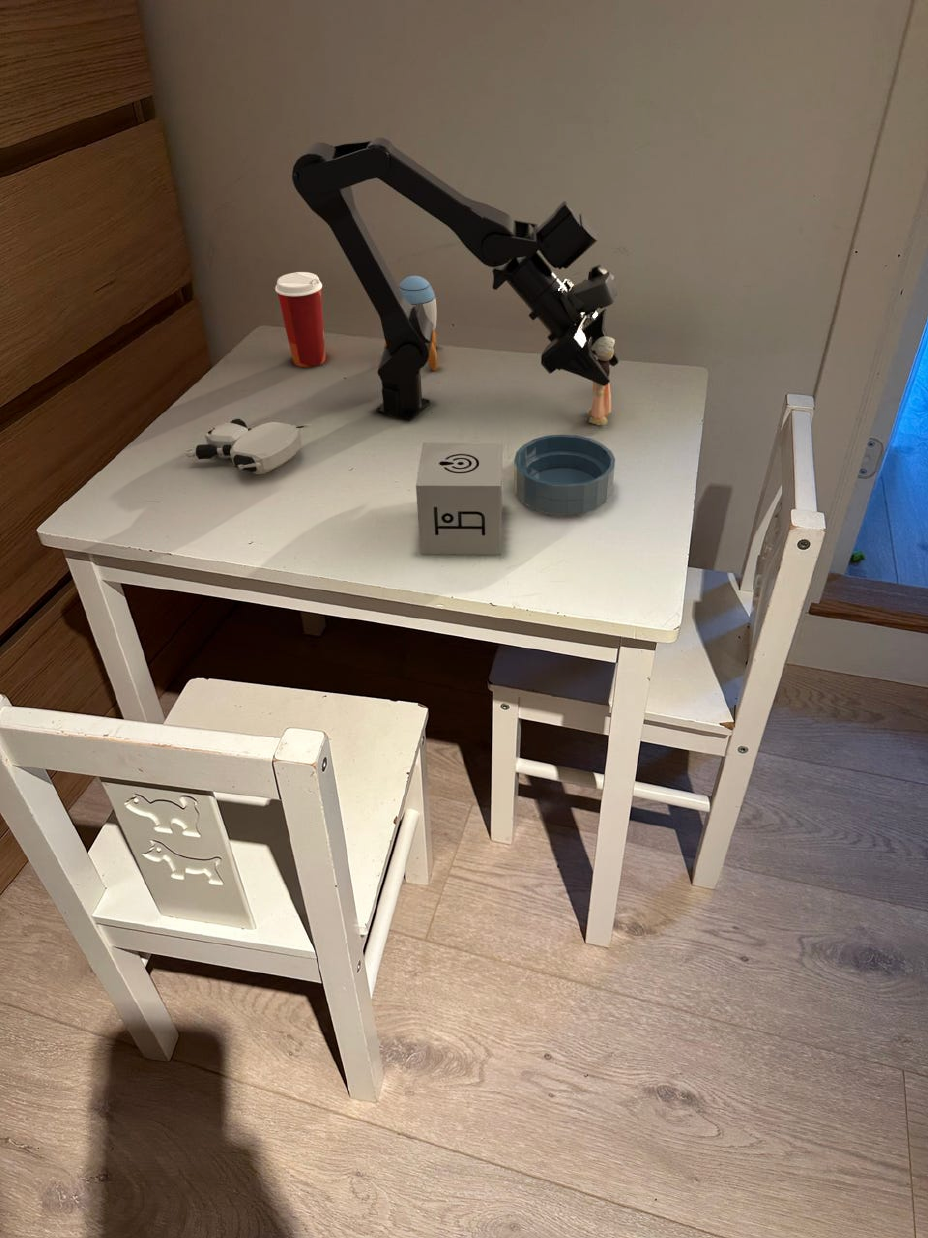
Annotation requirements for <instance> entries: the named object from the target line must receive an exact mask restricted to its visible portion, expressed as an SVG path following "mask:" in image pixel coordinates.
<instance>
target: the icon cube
mask: <svg viewBox="0 0 928 1238" xmlns="http://www.w3.org/2000/svg"><path fill="white" fill-rule="evenodd" d="M415 482H416V483H415V492H416V493H415V494H416V495H415V496H416V506H417V507H416V508H417V521H418V522H417V523H418V537H419V550H420V555H475V556H476V555H477V556H478V555H479V556H481V555H485V556H486V555H491V556H495V555H496V556H500V555H501V554H502V523H503V520H502V519H503V442H422V446H421V452H420V458H419V465H418V470H417V476H416V481H415Z"/></svg>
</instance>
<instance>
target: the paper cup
mask: <svg viewBox="0 0 928 1238" xmlns="http://www.w3.org/2000/svg"><path fill="white" fill-rule="evenodd" d="M322 288H323V284H322V282H321V281H320V277H318V274H315V273H312V272H309V271H296V272H290V273H286V274H283V275H282V276H280V277H278V278H277V281H276V285H275V287H274V290H275V292H276V293H277V295H278V299H279V305H280V310H281V314H282V318H283V323H284V328H285V332H286V336H287V340H288V345H289V350H290V354H291V358H292V362H293V364H294V365H295V366H297V367H300V368H313V367H318V366H320V365H322V364H323V363H325V361H326V344H325V330H324V316H323V302H322Z"/></svg>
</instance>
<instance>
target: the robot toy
mask: <svg viewBox="0 0 928 1238" xmlns="http://www.w3.org/2000/svg"><path fill="white" fill-rule="evenodd" d="M309 427H311V424H309V423H306V424H304V425H302V424H301V425H294V424H290V423H284V422H278V421H271V422H266V423H262V424H260V425H257V426H256V427H254V428H251V427H249V428H248V425H247V424H246V422H245V421H244V420H242V418H241V419H240V418H233V419H231V420H228V421H226V423H221V424H220V425H217V426H213V427H212V429H211V430H209V431H208V432H205V433H204V437H205V440H206V443H205V444H197V445H196V446H195V447H190V448H188V450H186V452H185V455H186V457H188V458H196V457H197V459H198V460H211V459H212V458H214V457H216V456H217V457H219V458H221V459H229V458H231V460H232V464H233V466H234V468H236V469H237V470H239V471H244V472H249V473H253V474H256V475H257V474H258V475H263V474H265V473H268V472H271V471H273V470H275V469H277V468H279V467H281V466H283V465H284V464H285V463H287V462H289V461H290V460H291V459H292V458H293V457H294V455H296V454H297V452H298V451H299V449H300V448H301V447H302V438H301V434H300V429H302V428H306V429H307V428H309Z"/></svg>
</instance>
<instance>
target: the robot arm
mask: <svg viewBox="0 0 928 1238" xmlns="http://www.w3.org/2000/svg"><path fill="white" fill-rule="evenodd" d="M373 179H378V180H379V181H382V182H383V183H384V184H386V185H387V186H389V187H390V188H391V189H393V190H394V191H396V192H397V193H399V194H400V195H402V196H403V197H404V198H406V199H408V200H409V201H410V202H412V203H413V204H414V205H416V206H417V207H419V208H421V209H422V210H423V211H425V212H427V213H428V214H429V215H431V216H432V217H434V218H435V219H436V220H438V221H439V222H441V223H442V224H444V225H445V226H447V227H448V228H449V229H450V230H451V231H452V232H453V233H454V234H455V235H456V236H457V238H458V240H460V242H461V243H462V244H463V245H464V247H465V248H466V249H467V250H468V251H469V252H470V253H471V254H472V255H473V256H474V257H475V258H476V259H477V260H479V262H480V263H481V264H483V265H485V266H487V267H489V268H492V275H493V280H492V289H493V290H494V291H496V290H498V289H499V288H500V287H501V286H502V285H503V284H504V283H506V282H507V284H508V285H509V286H510V288H511V289H512V290H513V291H514V292H515V293H516V294H517V295H518V297H519V298H520V300H522V301H523V302H524V304H525V305H526V306H527V307H528V309H530V313H529V314H528V317H529V318H530V319H531V321H535V320H536V319H538V320H539V321H540V323H541V324H542V325H543V326H544V327H545V329H546V330H547V331H548V332H549V334H548V335H547V339H548V340H549V341H550V342H549V343H548V344H547V345H546V347H545V349H544V350H543V352H542V353H541V354H540V355H541V356H540V357H541V358H540V365H541V366H542V367H543V368H544V370H546V371H547V373H548V374H549V375H550V374H552V373H554V372H555V371H556V370H558V371H561V370H563V371H566V372H569V373H571V374H573V375H577V376H579V377H581V378H583V379H586V380H588V381H591V382H592V383H593V382H596V383H598V384H600V385H603V386H605V385H607V384H608V383H609V384H610V382H611V379H610V377H609V378H608V376H607V375H606V373H605V371H604V370H603V368H602V367H601V365H600V364H599V362H598V361H597V359H598V358H597V356H596V352H595V350H594V351H593V350H592V349H591V348H592V346H593V344H594V343H595V342H596V341H597V340H598V339H599V338H601V337H609V336H608V333H607V330H606V328H605V322H606V314H607V307H610V306H611V305H612V304H613V303H614V302H615V298H616V297H617V296H618V291H617V287H616V285H615V280H616V277H615V275H614V274H612V273H611V271H610V270H607V269H606V268H604V266H603V265H602V264H598V265H594V266H592V267H590V269H589V271H588V277H587V279H586V278H585V279H583V280H582V281H581V282H580V283H577V284H574V283H573V282H572V280H571V279H568V278H564V279H563V280H561V278H560V277H559V276H558V275H557V274H556V273H555V271H554V270H553V269H552V268H551V266H552V267H553V268H554V269H559V270H561V269H563V268H564V269H566V270H567V269H568V268H569V267H571V266H572V264H574V263H575V262H576V261H578V259H579V258H581V256H583V255H584V254H585V253H586V252H587V251H588V250H589V249H590V248H591V247H592V246H594V245H595V244H596V243H597V242H598V241H599V237H598V234H597V233H596V231H595V229H594V228H593V226H592V225H591V224H590V222H589V221H588V219H587V218H586V217H585V216H584V215H583V213H579V212H578V210H576V209H575V208H574V207H573V206H571V205H570V204H569V203H568V202H567V201H565V200H563V201H562V202H561V203H560V204H558V206H557V207H556V208H555V210H554V212H553V213H552V214H551V215H550V216H549V217H548V218H547V219H545V221H544V222H543V223H541V224H540V225H539V224H537V223H534V222H528V221H522V220H517V219H514V218H513V217H512V216H511V215H509V214H508V213H506V212H505V211H503V210H500V209H498V208H497V207H494V206H492V205H490V204H488V203H486V202H485V203H484V202H481V201H477V200H473V199H471V198H470V197H467V196H465V195H463V194H462V193H461V192H459V191H457V190H456V189H454V187H452V186H451V185H449V184H448V183H446V182H445V181H444V180H442V179H441V178H439V177H438V176H436V175H435V174H434V173H432V172H430V171H429V170H428V169H426V168H425V167H423V166H422V164H420V163H418V162H416V160H414V159H412V158H411V157H409V156H408V155H406V154H405V153H404V152H403V151H401V150H399V149H398V148H397V147H395V145H394V144H393V143H392V142H391V141H390V139H387V138H384V137H376V138H373V139H370V140H365V141H356V142H355V141H353V142H346V143H341V144H337V145H331V144H328V143H326V142H320V141H319V142H315V143H314V142H313V143H311V144H309V146H307V147H306V148H305V149H304V151H303V152H302V153H301V154H300V156H299V157H298V158H297V159H296V161H295V162H294V165H293V168H292V171H291V180H292V184H293V186H294V188H295V190H296V191H297V193H298V194H299V195H300V197H301V198H302V199H303V201H304V202H305V203H306V205H307V206H308V207H309V209H310V210H311V211H312V212H313V213H314V214H316V215H317V216H318V217H319V218H320V219H321V220H322V221H323V222H325V223H326V224H327V225H328V226H329V228H330V229H331V232H332V233H333V235H334V237H335V239H336V240H337V242H338V245H339V246H340V248H341V250H342V252H343V253H344V255H345V257H346V259H347V261H348V262H349V264H350V265H351V267H352V269H353V272H354V273H355V275H356V277H357V278H358V280H359V282H360V284H361V285H362V287H363V289H364V291H365V293H366V294H367V297H368V298H369V300H370V302H371V304H372V305H373V307H374V309H375V311H376V313H377V315H378V317H379V320H380V325H381V329H382V333H383V338H384V343H385V342H386V344H387V346H386V347H385V349H384V348H383V352H382V355H381V358H380V361H379V364H378V368H377V370H376V371H377V372H376V373H377V375H378V377H379V379H380V382H381V397H382V403H381V404H379V406H377V407H376V408H375V412H376V413H378V414H382V415H386V416H391V417H395V418H398V419H402V420H407V421H412V420H413V419H414V418H416V417H417V416H418V415H419V414H420V413H422V412H423V411H424V410H425V409H426V408H428V406H429V405H431V400H430V399H428V398H423V395H422V393H423V392H422V378H421V369H422V368H424V366H425V365H426V364H427V363H428V358H429V354H430V349H431V345H432V340H433V333H432V330H433V325H434V324H433V323H432V322H431V321H430V320H429V319H428V317H427V316H426V313H425V310H424V307H423V305H422V303H421V302H420V303H418V304H417V305H415V306H412V305H411V304H410V303H409V302H408V301H407V300H406V299H405V298H404V297H403V295H402V294H401V292H400V290H399V288H398V287H399V285H398V284H397V283H396V280H395V278H394V276H393V275H392V273H391V271H390V268H389V267H388V265H387V263H386V261H385V260H384V257H383V256H382V253H381V252H380V250H379V249H378V246H377V245H376V243H375V241H374V239H373V237H372V235H371V233H370V232H369V229H368V227H367V225H366V224H365V222H364V220H363V218H362V215H361V214H360V213H359V211H358V209H357V206H356V203H355V199H354V195H353V190H352V186H355V185H357V184H360V183H362V182H365V181H368V180H369V181H370V180H373ZM538 251H539V252H538ZM541 255H542V256H543V257H542V256H541ZM598 309H601V310H602V309H603V310H602V311H600V312H599V313H598V312H597V310H598ZM618 364H619V359H618V355H617V353H616V351H614V354H613V357H612V358H611V359H610V360H609V366H611V367H615V366H616V365H618Z"/></svg>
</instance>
